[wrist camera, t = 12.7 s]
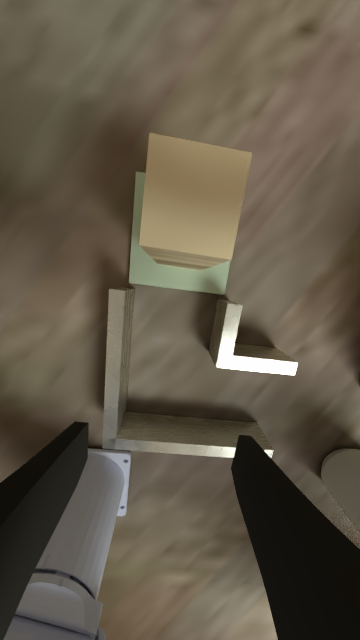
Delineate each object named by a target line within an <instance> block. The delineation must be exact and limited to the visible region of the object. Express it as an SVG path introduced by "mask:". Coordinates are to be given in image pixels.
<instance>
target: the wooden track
mask: <svg viewBox="0 0 360 640" xmlns="http://www.w3.org/2000/svg"><path fill="white" fill-rule="evenodd" d="M134 293H135V289H133V288H124V287H120V288H112V289H109V302H108V326H107V350H106V373H105V397H104V421H103V444H102V449H116V450H130V451H144V452H158V453H171V454H185V455H199V456H213V457H227V458H234V454H235V450H236V445H237V441H238V436H239V435H249V436H252V437H253V438H254V440H255V441H256V442H257V443H258V444H259V445H260V446H261V447H262V449H263V450H264V451H265V452H266V453H267V454H268V456H269V457H270V458H272V454H273V449H272V447H271V445H270V444H269V442H268V440H267V439H266V437H265V435H264V433H263V432H262V430H261V428H260V427H259V425H258V423H255V422H243V421H231V420H219V419H207V418H195V417H183V416H172V415H160V414H148V413H136V412H126V404H127V390H128V376H129V362H130V348H131V334H132V321H133V307H134ZM241 310H242V305H240V304H238V303H235V302H232V301H229V300H222V299H217V304H216V310H215V316H214V322H213V327H212V333H211V339H210V345H209V351H208V352H209V354H210V356H211V358H212V360H213V362H214V364H215V366H216V367H217V368H227V369H237V370H246V371H256V372H266V373H276V374H286V375H295V373H296V369H297V366H298V362H296V361H295V360H293V359H292V358H290V357H289V356H287V355H286V354H284V353H283V352H281V351H280V350H278V349H277V348H272V347H263V346H254V345H245V344H236V343H235V341H236V336H237V330H238V325H239V320H240V315H241Z"/></svg>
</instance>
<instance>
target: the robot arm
mask: <svg viewBox="0 0 360 640" xmlns="http://www.w3.org/2000/svg"><path fill="white" fill-rule="evenodd" d="M126 459H127V460H126ZM130 463H131V453H130V452H129V451H118V450H104V449H90V448H88V423H85V422H74V423H73V424H72V425H70V426H69V427H68V428H67V429H66V430H64V431H63V432H62V433H61V434H60V435H59V436H57V437H56V438H55V439H54V440H53V441H52V442H50V443H49V444H48V445H47V446H46V447H45V448H43V449H42V450H41V451H40V452H38V453H37V454H36V455H35V456H34V457H32V458H31V459H30V460H29V461H28V462H26V463H25V464H24V465H23V466H21V467H20V468H19V469H18V470H16V471H15V472H14V473H13V474H11V475H10V476H9V477H7V478H6V479H5V480H3V481H2V482H1V483H0V640H106V636H105V632H104V630H103V629H102V628H99V627H98V625H99V621H100V616H101V612H102V607H103V603H101V602H99V601H97V597H98V593H99V588H100V584H101V580H102V576H103V572H104V568H105V564H106V560H107V555H108V551H109V547H110V543H111V539H112V535H113V531H114V526H115V522H116V518H117V516H124V515H125V514H126V511H127V499H128V487H129V475H130ZM231 470H232V475H233V480H234V485H235V489H236V494H237V498H238V501H239V504H240V508H241V511H242V514H243V517H244V521H245V524H246V527H247V530H248V533H249V537H250V540H251V543H252V546H253V549H254V553H255V556H256V559H257V562H258V565H259V569H260V572H261V575H262V579H263V582H264V586H265V589H266V593H267V597H268V601H269V605H270V609H271V613H272V617H273V621H274V625H275V629H276V633H277V637H278V640H360V549H359V548H357V547H356V546H355V545H354V544H353V543H352V542H351V541H350V540H349V539H348V538H347V537H346V536H345V535H344V534H343V533H342V532H341V531H339V530H338V529H337V528H336V527H335V526H334V525H333V524H332V523H331V522H330V521H329V520H328V519H327V518H326V517H325V516H324V515H323V514H322V513H321V512H320V511H319V510H318V509H317V508H316V507H315V506H314V505H313V504H312V503H311V502H310V501H309V500H308V498H307V497H306V496H305V495H304V494H303V493H302V492H301V491H300V490H299V489H298V488H297V487H296V486H295V485H294V484H293V482H292V481H291V480H290V479H289V478H288V477H287V476H286V475H285V474H284V473H283V471H282V470H281V469H280V468H279V467H278V466H277V465H276V464H275V462H274V461H273V460H272V459H271V458H270V457H269V456H268V454H267V453H266V452H265V451H264V450H263V449H262V447H261V446H260V445H259V444H258V443H257V442H256V441H255V440H254V438H253V437H252V436H249V435H239V436H238V441H237V445H236V450H235V454H234V458H233V463H232V467H231Z"/></svg>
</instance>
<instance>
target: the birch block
mask: <svg viewBox="0 0 360 640" xmlns="http://www.w3.org/2000/svg"><path fill="white" fill-rule="evenodd" d="M251 157H252V153H250V152H245V151H240V150H235V149H230V148H225V147H220V146H214V145H209V144H204V143H199V142H194V141H189V140H184V139H179V138H174V137H169V136H164V135H159V134H154V133H149V142H148V153H147V164H146V175H145V186H144V196H143V207H142V218H141V229H140V240H139V246H140V247H141V248H142V249H143V250H144V251H145V252H146V253H147V254H148V255H149V256H150V257H151V258H152V259H153V260H154V261H155V262H156V263H157V264H161V265H167V266H174V267H180V268H187V269H194V270H200V271H202V270H204V269H207V268H210V267H213V266H215V265H218V264H221V263H224V262H227V261H229V260H232V255H233V249H234V244H235V239H236V234H237V229H238V224H239V219H240V214H241V208H242V203H243V198H244V193H245V188H246V183H247V178H248V173H249V168H250V162H251Z"/></svg>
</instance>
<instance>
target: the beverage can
mask: <svg viewBox="0 0 360 640" xmlns="http://www.w3.org/2000/svg"><path fill="white" fill-rule="evenodd" d="M321 479H322V481H323V483H324V485H325V486H326V487H327V489H328V490H329V492H330V493H331V494H332V496H333V497H334V498H335V500H336V501H337V502H338V504H339V505H340V506H341V508H342V509H343V511H344V512H345V513H346V515H347V516H348V517H349V519H350V520H351V521H352V523H353V524H354V525H355V527H356V528H357V530H358V531H359V532H360V450H359V449H346V448H345V449H339V450H336V451H333V452H332V453H330V454H329V455H328V456H327V457H326V458H325V459H324V461H323V463H322V470H321Z"/></svg>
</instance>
